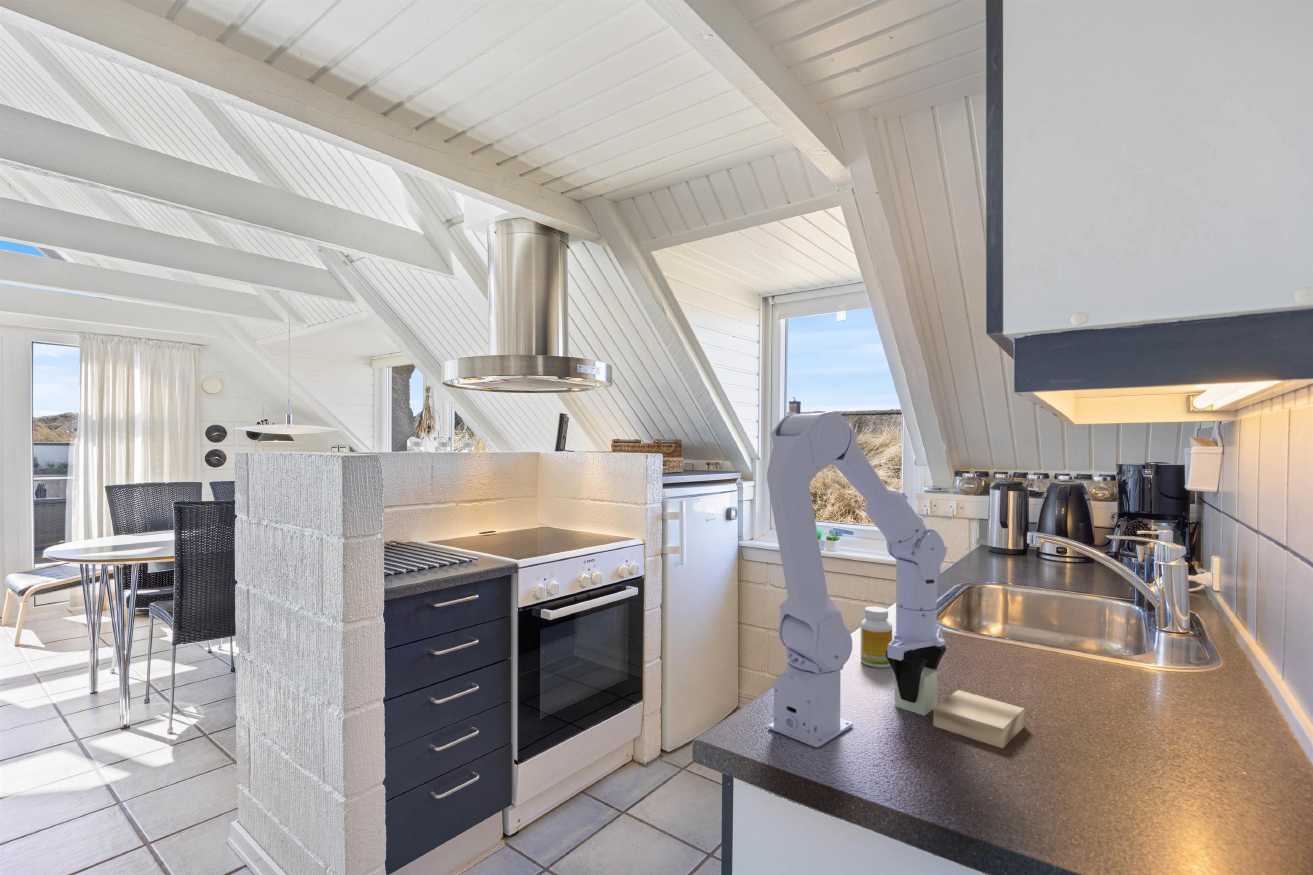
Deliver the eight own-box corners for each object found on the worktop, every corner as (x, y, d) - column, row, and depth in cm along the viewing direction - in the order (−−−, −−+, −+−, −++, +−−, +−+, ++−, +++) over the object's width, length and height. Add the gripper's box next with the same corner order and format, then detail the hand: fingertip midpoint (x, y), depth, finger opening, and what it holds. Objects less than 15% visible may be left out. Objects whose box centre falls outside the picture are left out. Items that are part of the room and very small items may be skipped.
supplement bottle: (896, 668, 112) (896, 613, 112) (865, 668, 112) (866, 613, 112) (886, 657, 117) (886, 605, 117) (856, 657, 118) (857, 604, 117)
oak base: (1002, 751, 84) (1002, 728, 84) (933, 728, 90) (933, 707, 90) (1024, 729, 90) (1024, 708, 90) (958, 709, 96) (958, 689, 96)
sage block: (924, 715, 93) (924, 678, 93) (894, 706, 96) (894, 669, 96) (937, 706, 96) (937, 670, 96) (908, 697, 100) (908, 662, 100)
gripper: (921, 620, 88) (921, 718, 88) (962, 602, 98) (962, 689, 99) (874, 610, 94) (873, 703, 94) (917, 593, 104) (917, 677, 104)
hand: (915, 695), depth 96 cm, fingers closed on sage block, 4 cm apart
